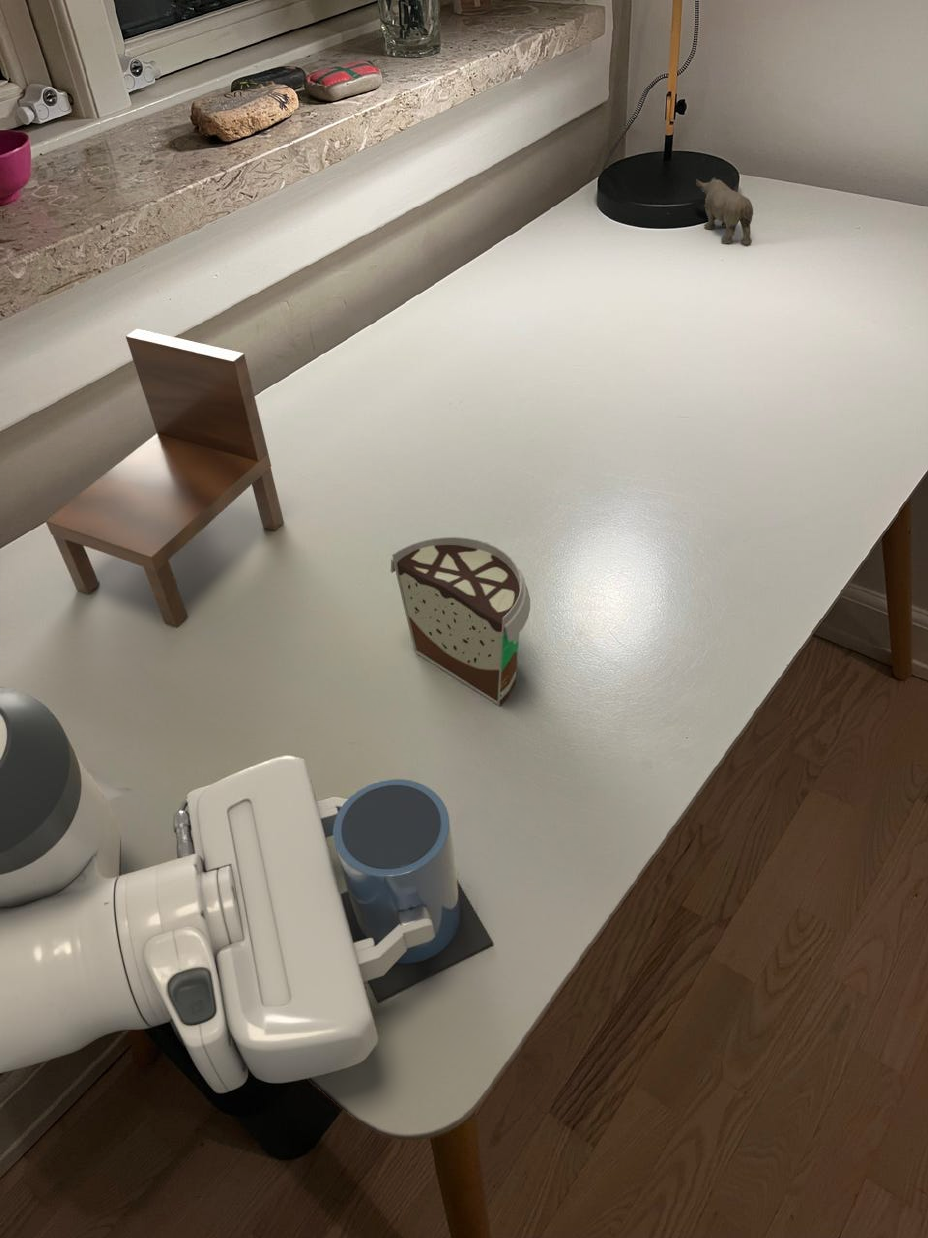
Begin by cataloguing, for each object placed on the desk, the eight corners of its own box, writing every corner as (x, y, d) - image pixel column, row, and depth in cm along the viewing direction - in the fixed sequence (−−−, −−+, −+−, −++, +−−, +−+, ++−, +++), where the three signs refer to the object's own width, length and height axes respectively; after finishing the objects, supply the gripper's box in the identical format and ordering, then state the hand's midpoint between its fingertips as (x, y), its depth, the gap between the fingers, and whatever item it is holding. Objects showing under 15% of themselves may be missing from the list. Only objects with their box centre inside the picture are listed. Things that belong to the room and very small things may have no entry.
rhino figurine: (707, 206, 145) (711, 162, 141) (757, 243, 135) (763, 197, 131) (681, 212, 144) (684, 168, 140) (729, 250, 134) (734, 204, 130)
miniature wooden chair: (177, 628, 89) (113, 454, 76) (75, 590, 93) (0, 420, 81) (285, 522, 99) (244, 353, 86) (188, 492, 103) (136, 328, 91)
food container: (564, 670, 82) (564, 576, 75) (514, 716, 79) (508, 621, 72) (452, 604, 88) (443, 512, 82) (401, 644, 85) (387, 551, 79)
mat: (378, 1003, 63) (377, 1000, 63) (331, 901, 68) (330, 898, 68) (493, 945, 65) (493, 942, 65) (439, 851, 71) (438, 848, 70)
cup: (340, 949, 65) (314, 860, 58) (378, 860, 70) (358, 768, 63) (441, 976, 64) (427, 888, 57) (473, 883, 68) (464, 791, 61)
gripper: (181, 826, 70) (377, 769, 73) (223, 1123, 56) (465, 1040, 58) (156, 769, 66) (366, 710, 68) (194, 1076, 51) (457, 988, 54)
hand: (412, 865), depth 63 cm, fingers closed on cup, 7 cm apart
